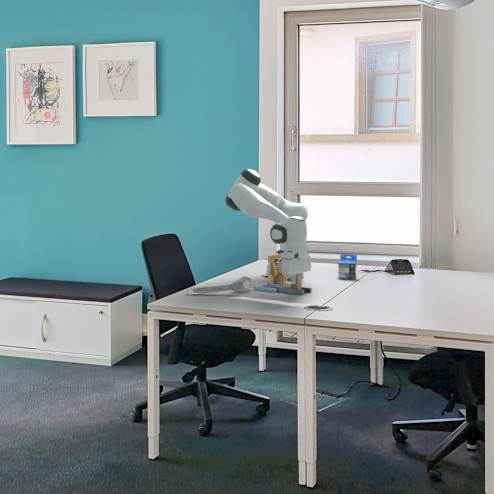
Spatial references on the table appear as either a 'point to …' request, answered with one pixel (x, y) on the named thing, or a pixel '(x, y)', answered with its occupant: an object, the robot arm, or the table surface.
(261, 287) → the tray
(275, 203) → the robot arm
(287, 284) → the chip
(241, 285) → the wrench
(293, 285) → the pinkish tan block
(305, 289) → the channel
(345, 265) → the label tape cartridge
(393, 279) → the table surface
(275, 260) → the candy box
